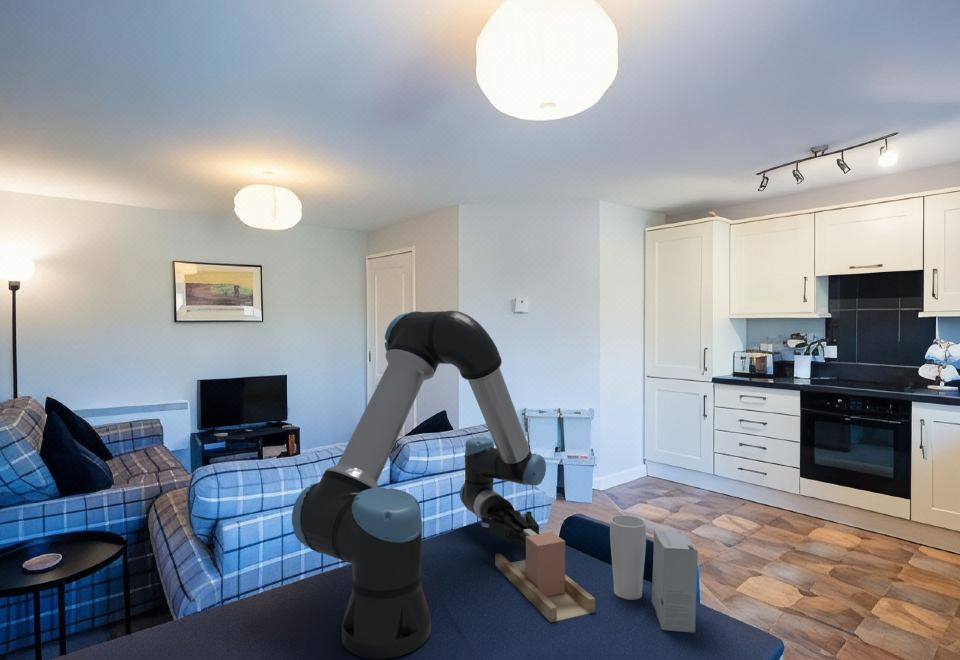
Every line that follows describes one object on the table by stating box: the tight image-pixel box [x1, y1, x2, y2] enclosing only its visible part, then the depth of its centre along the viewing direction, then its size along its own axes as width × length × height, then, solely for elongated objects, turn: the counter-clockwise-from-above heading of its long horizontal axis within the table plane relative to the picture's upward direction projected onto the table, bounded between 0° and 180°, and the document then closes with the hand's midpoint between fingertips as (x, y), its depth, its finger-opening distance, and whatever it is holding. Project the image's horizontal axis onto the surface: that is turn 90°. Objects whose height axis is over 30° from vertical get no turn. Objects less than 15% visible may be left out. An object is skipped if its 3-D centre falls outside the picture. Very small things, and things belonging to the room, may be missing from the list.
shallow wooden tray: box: [494, 553, 596, 623], centre depth 103 cm, size 24×9×3 cm, turn 22°
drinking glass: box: [609, 514, 647, 600], centre depth 100 cm, size 7×7×15 cm
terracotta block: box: [525, 531, 566, 597], centre depth 101 cm, size 5×6×10 cm
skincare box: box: [651, 528, 699, 633], centre depth 92 cm, size 8×6×15 cm
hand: (541, 547), depth 104 cm, fingers closed
